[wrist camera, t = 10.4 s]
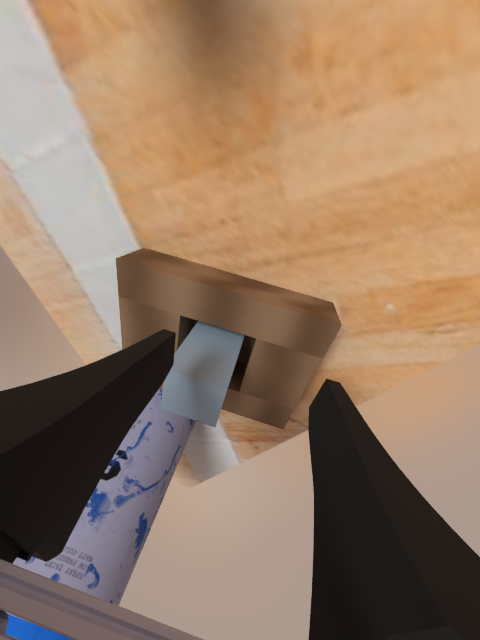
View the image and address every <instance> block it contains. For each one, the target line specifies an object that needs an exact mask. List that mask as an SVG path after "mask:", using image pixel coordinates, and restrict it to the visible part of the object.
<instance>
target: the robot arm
mask: <svg viewBox="0 0 480 640" xmlns="http://www.w3.org/2000/svg"><path fill="white" fill-rule="evenodd" d="M175 339H176V332H172V331H169V330H166V329H163V330H161V331H159V332H157V333H155V334H153V335H151V336H149V337H147V338H145V339H143V340H141V341H139V342H137V343H135V344H133V345H131V346H129V347H127V348H125V349H123V350H121V351H119V352H116V353H114V354H112V355H110V356H107V357H105V358H103V359H101V360H98V361H96V362H94V363H91V364H88V365H86V366H83V367H80V368H78V369H75V370H72V371H69V372H67V373H63V374H61V375H57V376H54V377H51V378H47V379H44V380H41V381H38V382H34V383H31V384H27V385H24V386H19V387H16V388H12V389H8V390H4V391H0V640H22V639H19V638H16V637H13V636H10V635H7V633H6V628H7V625H8V621H9V619H8V614H7V613H9V614H12V615H14V616H16V617H19V618H21V619H24V620H26V621H29V622H31V623H33V624H36V625H38V626H41V627H43V628H45V629H48V630H50V631H53V632H55V633H58V634H60V635H62V636H65V637H67V638H70V639H72V640H203V639H201V638H198V637H196V636H193V635H190V634H188V633H186V632H183V631H181V630H178V629H175V628H173V627H170V626H168V625H165V624H163V623H160V622H158V621H155V620H153V619H150V618H148V617H145V616H143V615H140V614H138V613H135V612H133V611H130V610H127V609H125V608H122V607H120V606H117V605H115V604H112V603H110V602H107V601H105V600H102V599H100V598H97V597H95V596H92V595H90V594H87V593H85V592H82V591H80V590H77V589H75V588H72V587H70V586H67V585H64V584H62V583H59V582H57V581H54V580H52V579H49V578H47V577H44V576H42V575H39V574H37V573H34V572H32V571H29V570H27V569H24V568H22V567H19V566H17V565H14V564H12V563H13V562H14V561H15V559H16V558H20V559H23V560H25V561H28V560H30V559H31V557H35V558H37V559H40V560H43V561H45V562H47V561H49V560H51V559H53V558H55V557H56V556H58V555H59V554H61V553H62V551H63V549H64V547H65V545H66V543H67V541H68V539H69V537H70V535H71V533H72V531H73V530H74V528H75V526H76V524H77V522H78V520H79V518H80V516H81V514H82V512H83V510H84V508H85V507H86V505H87V503H88V501H89V499H90V497H91V496H92V494H93V492H94V490H95V488H96V487H97V485H98V483H99V481H100V479H101V477H102V476H103V474H104V472H105V470H106V469H107V467H108V465H109V463H110V462H111V460H112V458H113V457H114V455H115V453H116V451H117V450H118V448H119V446H120V445H121V443H122V441H123V440H124V438H125V436H126V435H127V433H128V431H129V430H130V428H131V427H132V425H133V424H134V423H135V421H136V420H137V418H138V417H139V416H140V414H141V413H142V412H143V410H144V409H145V407H146V406H147V405H148V403H149V402H150V401H151V399H152V398H153V396H154V395H155V394H156V392H157V391H158V390H159V388H160V387H161V385H162V384H163V382H164V381H165V379H166V377H167V375H168V374H169V372H170V370H171V368H172V366H173V364H174V352H175ZM309 440H310V453H311V464H312V473H313V486H314V552H313V579H312V598H311V614H310V630H309V640H480V557H479V556H478V555H477V554H476V553H475V552H474V551H473V550H472V549H471V548H470V547H469V546H468V545H467V544H466V543H465V542H464V541H463V540H462V539H461V537H460V536H459V535H458V534H457V533H456V532H455V531H454V530H453V529H452V528H451V527H450V526H449V525H448V524H447V523H446V522H445V521H444V519H443V518H442V517H441V516H440V515H439V514H438V513H437V512H436V511H435V510H434V509H433V508H432V506H431V505H430V504H429V503H428V502H427V501H426V500H425V498H424V497H423V496H422V495H421V494H420V493H419V491H418V490H417V489H416V488H415V487H414V486H413V484H412V483H411V482H410V481H409V479H408V478H407V477H406V476H405V475H404V473H403V472H402V471H401V470H400V469H399V467H398V466H397V465H396V463H395V462H394V461H393V460H392V458H391V457H390V456H389V454H388V453H387V452H386V450H385V449H384V448H383V446H382V445H381V443H380V442H379V441H378V440H377V438H376V436H375V435H374V434H373V432H372V431H371V429H370V428H369V427H368V425H367V424H366V422H365V421H364V419H363V417H362V416H361V414H360V413H359V411H358V410H357V408H356V407H355V405H354V404H353V402H352V400H351V399H350V397H349V396H348V394H347V393H346V391H345V390H344V388H343V387H342V385H341V384H340V383H339V382H336V381H332V380H329V379H326V380H325V382H324V384H323V385H322V387H321V389H320V390H319V392H318V394H317V395H316V397H315V399H314V400H313V402H312V404H311V405H310V407H309ZM6 612H7V613H6Z"/></svg>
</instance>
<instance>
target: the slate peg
mask: <svg viewBox="0 0 480 640" xmlns="http://www.w3.org/2000/svg"><path fill="white" fill-rule="evenodd" d="M244 337H245V335H243V334H240V333H237V332H233V331H230V330H227V329H224V328H220V327H217V326H214V325H210V324H207V323H204V322H201V321H198V322H197V323H196V325H195V326H194V328H193V329H192V330H191V332H190V333H189V335H188V336H187V337H186V339H185V340H184V341H183V343H182V344H181V346H180V347H179V348H178V350H177V351H176V352H175V354H174V364H173V366H172V368H171V370H170V372H169V374H168V375H167V377H166V379H165V381H164V382H163V389H162V401H161V409H164V410H167V411H169V412H172V413H175V414H178V415H181V416H184V417H187V418H190V419H193V420H196V421H199V422H201V423H204V424H207V425H210V426H213V427H215V426H216V423H217V420H218V417H219V414H220V411H221V408H222V405H223V402H224V399H225V395H226V392H227V389H228V386H229V383H230V380H231V377H232V374H233V371H234V368H235V365H236V362H237V358H238V355H239V352H240V349H241V346H242V343H243V340H244Z"/></svg>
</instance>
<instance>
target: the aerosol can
mask: <svg viewBox="0 0 480 640" xmlns="http://www.w3.org/2000/svg"><path fill="white" fill-rule="evenodd" d="M161 401H162V390H161V389H159V390H158V391H157V392H156V394H155V395H154V396H153V398H152V399H151V401H150V402H149V403H148V405H147V406H146V407H145V409H144V410H143V412H142V413H141V414H140V416H139V417H138V418H137V420H136V421H135V423H134V424H133V425H132V427H131V428H130V430H129V431H128V433H127V435H126V436H125V438H124V440H123V441H122V443H121V445H120V446H119V448H118V450H117V451H116V453H115V455H114V457H113V458H112V460H111V462H110V463H109V465H108V467H107V469H106V470H105V472H104V474H103V476H102V477H101V479H100V481H99V483H98V485H97V487H96V488H95V490H94V492H93V494H92V496H91V497H90V499H89V501H88V503H87V505H86V507H85V508H84V510H83V512H82V514H81V516H80V518H79V520H78V522H77V524H76V526H75V528H74V530H73V531H72V533H71V535H70V537H69V539H68V541H67V543H66V545H65V547H64V549H63V551H62V553H61V554H59V555H58V556H56V557H55V558H53V559H51V560H49V561H47V562H45V561H43V560H40V559H37V558H35V557H31V559H30V560H28V561H25V560H23V559H20V558H16V559H15V561H14V562H13V563H12V564H14V565H17V566H19V567H22V568H24V569H27V570H29V571H32V572H34V573H37V574H39V575H42V576H44V577H47V578H49V579H52V580H54V581H57V582H59V583H62V584H64V585H67V586H70V587H72V588H75V589H77V590H80V591H82V592H85V593H87V594H90V595H92V596H95V597H97V598H100V599H102V600H105V601H107V602H110V603H112V604H115V605H117V606H118V605H119V603H120V601H121V598H122V596H123V593H124V591H125V589H126V586H127V584H128V582H129V579H130V577H131V574H132V572H133V569H134V567H135V564H136V562H137V560H138V558H139V555H140V553H141V550H142V548H143V546H144V543H145V541H146V538H147V536H148V534H149V531H150V529H151V526H152V524H153V522H154V519H155V517H156V514H157V512H158V510H159V507H160V505H161V503H162V500H163V498H164V495H165V493H166V491H167V488H168V486H169V484H170V481H171V479H172V476H173V474H174V472H175V469H176V467H177V464H178V462H179V460H180V457H181V455H182V452H183V450H184V448H185V445H186V443H187V440H188V438H189V436H190V433H191V431H192V429H193V426H194V424H195V421H196V420H193V419H190V418H187V417H184V416H181V415H178V414H175V413H172V412H169V411H167V410H164V409H161ZM6 613H7V612H6ZM7 614H8V619H9V621H8V625H7V628H6V633H7V635H10V636H13V637H16V638H19V639H22V640H72V639H70V638H67V637H65V636H62V635H60V634H58V633H55V632H53V631H50V630H48V629H45V628H43V627H41V626H38V625H36V624H33V623H31V622H29V621H26V620H24V619H21V618H19V617H16V616H14V615H12V614H9V613H7Z"/></svg>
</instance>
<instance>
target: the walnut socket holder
mask: <svg viewBox="0 0 480 640" xmlns="http://www.w3.org/2000/svg"><path fill="white" fill-rule="evenodd" d="M116 266H117V280H118V293H119V307H120V321H121V335H122V349H125V348H127V347H129V346H131V345H133V344H135V343H137V342H139V341H141V340H143V339H145V338H147V337H149V336H151V335H153V334H155V333H157V332H159V331H161V330H163V329H166V330H169V331H172V332H176V339H175V352H176V351H177V350H178V348H179V347H180V346H181V344H182V343H183V341H184V340H185V339H186V337H187V336H188V335H189V333H190V332H191V330H192V329H193V322H194V320H197V321H201V322H204V323H207V324H210V325H214V326H217V327H220V328H224V329H227V330H230V331H233V332H237V333H240V334H243V335H246V336H250V337H253V338H255V339H254V342H253V345H252V348H251V351H250V354H249V358H248V361H247V364H246V365H242V364H239V363H236V365H235V368H234V371H233V374H232V377H231V380H230V383H229V386H228V389H227V392H226V395H225V399H224V402H223V405H222V408H221V409H222V410H226V411H229V412H232V413H235V414H238V415H241V416H244V417H247V418H250V419H253V420H256V421H259V422H262V423H265V424H268V425H271V426H275V427H278V428H281V429H283V428H284V427H285V425H286V423H287V421H288V420H289V418H290V416H291V414H292V412H293V411H294V409H295V407H296V405H297V404H298V402H299V400H300V398H301V396H302V395H303V393H304V391H305V389H306V388H307V386H308V384H309V382H310V380H311V379H312V377H313V375H314V373H315V371H316V370H317V368H318V366H319V364H320V363H321V361H322V359H323V357H324V355H325V354H326V352H327V350H328V348H329V347H330V345H331V343H332V341H333V339H334V338H335V336H336V334H337V332H338V331H339V329H340V327H341V323H340V320H339V317H338V315H337V312H336V309H335V307H334V304H333V303H332V302H328V301H325V300H322V299H318V298H315V297H311V296H308V295H304V294H301V293H298V292H294V291H291V290H287V289H284V288H280V287H277V286H273V285H270V284H267V283H263V282H260V281H256V280H253V279H249V278H246V277H243V276H239V275H236V274H232V273H229V272H225V271H222V270H218V269H215V268H212V267H208V266H205V265H201V264H198V263H194V262H191V261H187V260H184V259H181V258H177V257H174V256H170V255H167V254H163V253H160V252H157V251H153V250H150V249H146V248H143V249H140V250H137V251H135V252H132V253H129V254H127V255H124V256H121V257H119V258H116ZM175 352H174V354H175ZM159 389H161V390H162V389H163V384H162V385H161V387H160V388H159Z"/></svg>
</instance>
